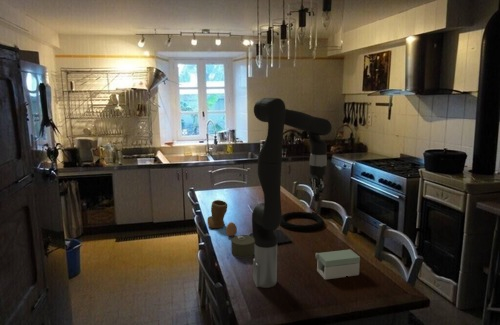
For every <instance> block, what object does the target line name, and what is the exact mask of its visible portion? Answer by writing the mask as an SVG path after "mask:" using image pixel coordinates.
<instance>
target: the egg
mask: <svg viewBox="0 0 500 325" xmlns="http://www.w3.org/2000/svg"><path fill="white" fill-rule="evenodd" d="M237 228H238V227H237V225H236V223H234V222H232V221H231V222H229V223H228V224H227V225H226V228H225V232H226V234H227V236H229V237H235V236H236V234H237V232H238V229H237Z"/></svg>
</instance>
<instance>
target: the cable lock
mask: <svg viewBox="0 0 500 325" xmlns="http://www.w3.org/2000/svg"><path fill="white" fill-rule="evenodd" d="M292 218H306V219H310V220H313V221H315V223H313V224H305V225H303V224H294V223H290V222H287V221H286V220H288V219H292ZM324 224H325V221H324V219H323V217H321V216H320V215H319V214H318V212H317V211H312V212H310V211H309V212H306V211H292V212H287V213H286V212H285V213H282V218H281V223H280V225H279V226H281V227H283V228H285V229H287V230H291V231H295V232H296V231H297V232H312V231H316V230H320V229H321V228H322V227H324Z"/></svg>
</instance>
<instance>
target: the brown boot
mask: <svg viewBox="0 0 500 325" xmlns="http://www.w3.org/2000/svg"><path fill="white" fill-rule="evenodd" d="M210 207H211V209H210V212H211V215H210V216H208V217H207V218H206V219H207V226H208V227H209V228H211V229H219V228H223V227H224V226H225V220H224V218H225V215H226V214H227V211H228V210H227V209H228V203H227V202H226V201H224V200H220V199H215V200H214V201H212V202H211V206H210Z"/></svg>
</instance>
